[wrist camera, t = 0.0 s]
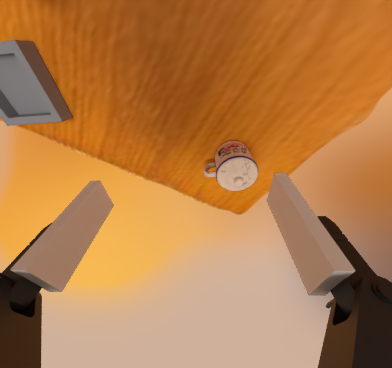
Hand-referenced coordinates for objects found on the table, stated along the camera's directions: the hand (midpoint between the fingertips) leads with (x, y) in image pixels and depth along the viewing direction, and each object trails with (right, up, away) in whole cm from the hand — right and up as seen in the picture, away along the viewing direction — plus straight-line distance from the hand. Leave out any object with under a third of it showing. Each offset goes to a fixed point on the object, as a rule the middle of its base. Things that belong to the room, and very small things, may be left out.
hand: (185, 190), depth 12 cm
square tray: (-35, +21, +21) cm, 45 cm away
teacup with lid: (+9, +8, +29) cm, 32 cm away
